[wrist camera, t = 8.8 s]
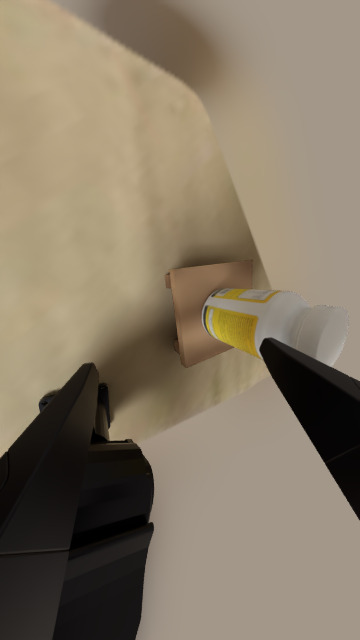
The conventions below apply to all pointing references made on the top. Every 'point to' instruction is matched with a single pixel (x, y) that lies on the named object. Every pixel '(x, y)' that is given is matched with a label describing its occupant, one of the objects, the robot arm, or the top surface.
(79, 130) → the top surface
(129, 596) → the robot arm
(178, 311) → the small wooden stand
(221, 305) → the pill bottle
